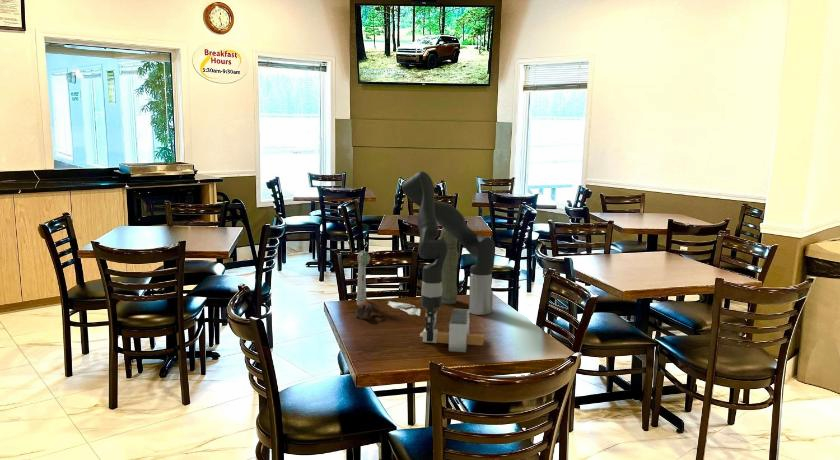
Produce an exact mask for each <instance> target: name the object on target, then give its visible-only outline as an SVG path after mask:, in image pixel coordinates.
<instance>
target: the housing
mask: <svg viewBox="0 0 840 460" xmlns="http://www.w3.org/2000/svg"><path fill="white" fill-rule="evenodd" d="M450 314H451V316H450V320H449V325H448V329H449V330H448V332H449V343H448V352H453V353H455V352H457V353H467V348H468V345H467V333H468V334H470V316H471V315H470V314H471V313H470V310H469V308H467V309H464V308H452V312H451V313H450Z"/></svg>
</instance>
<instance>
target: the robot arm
mask: <svg viewBox="0 0 840 460" xmlns="http://www.w3.org/2000/svg"><path fill="white" fill-rule="evenodd" d="M401 184H402V185H401V189H402V191H403V194H404V195H405V196H406V197H407V198H408V199H409V200H410V201H411V202H413V204H415V205H416V206H417V207H419V209H418V213H417V218H416V219H417V221H416V222H417V227H418V231H419V232H418V233H419V243H418V248H417V250H418V251H417V253H418V255H419V257H421V259H424V260H434V262H432V263H429V264H427V265H424V266H423V267H422V280H421V282H422V283H421V293H420V294H421V295H420V296H421V297H420V301H421V302H420V306H421V307H422V308H424V309H425V308H426V311H425V312H424V314H425V315H424V316H425V317H424V318H425V324H424V325H425V328H426V331H427V341H433V331H434V329H436V328H435V327H436V323H437V315H438V310H437V309H439V308H441V307H443V304H442V268H443V264H444V261H445V258H446V255H447V250H448V247H447V243H446V242H445V241H444V240H442V239H438V238H437V237H439V233H440V232H439V227H438V224H439V225H440V226H441V227H443V228H444V229H446V230H447V231H448V232H449V233H450V234H451V235H453V236H454V237H455V238H456V239H457V240H459V242H460V245H462V246H463V247H464V249H465V250H466V251H467V252H468V253H469V254H470V255H471V256H473V257H477V258H476V263H475V264H473V265H471V266H470V269H469V272H470V273H469V297H468V298H469V299H468V300H469V301H468V309H469V310H470V314H472V315H478V316H479V315H480V316H486V315H489V314H491V313H493V303H494V302H493V299H494V297H493V296H494V291H493V290H492V279H493V277H492V275H493V274H492V273H493V269H494V266H495V259H496V256H495V255H496V244H495V241H494V240H493V238H491V237H489V236H485V235H480V234H478V233H476V232H475V231H474V230H472V229H471V228H470V227H469V226H468V224H467V222H466V219H465V216H464V215H463V214H462V213H461V212H460V210H458V209H457V208H456V207H455V206H454V205H452V204H451V203H448V202H443V201H440V200H439V201H438V200H435V186H434V181H433V179H432V178H431V176H430V175H429V174H428V173H427V172H426V171H423V170H422V171H418V172H416V173H415V174H413V175H412V176H410V177H409V178H408V179H407V180H405V181H404V182H403V183H401ZM436 238H437V239H436Z"/></svg>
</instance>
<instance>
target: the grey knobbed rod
mask: <svg viewBox="0 0 840 460" xmlns="http://www.w3.org/2000/svg"><path fill="white" fill-rule="evenodd" d="M356 257H357V262H358V269H357V270H358V271H357V291H356V306H357V305H358V306H359V304H360V303H361V302H363V301H365V299H368V297H367V282H366V281H367V278H366V277H367V276H366V275H367V273H366V267H367V266H368V265H369V263H370V261H371V256H370V254H369V252H367V251H366V250H361V251H359V252H358V255H357V256H356ZM358 306H357V307H358Z"/></svg>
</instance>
